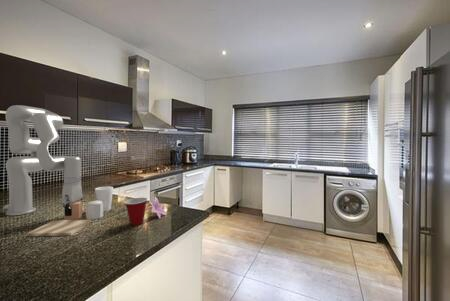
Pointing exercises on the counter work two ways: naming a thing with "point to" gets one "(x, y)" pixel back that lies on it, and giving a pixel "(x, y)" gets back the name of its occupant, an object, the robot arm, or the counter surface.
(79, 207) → the pink acorn nut
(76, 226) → the oak board
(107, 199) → the foam cup
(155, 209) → the lily
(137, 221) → the plastic cup
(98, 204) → the white domed cap nut
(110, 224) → the counter surface
